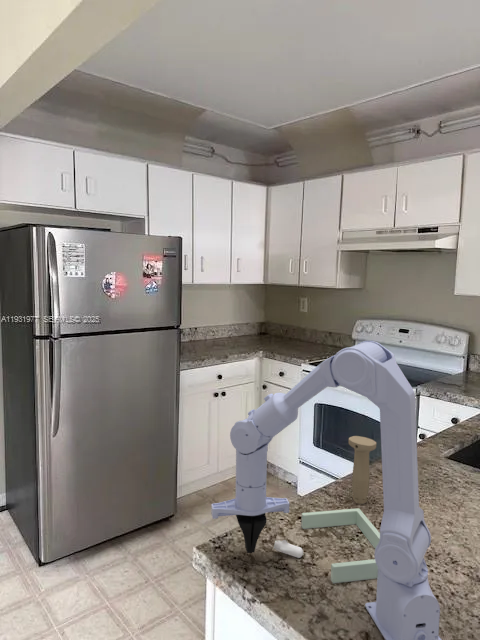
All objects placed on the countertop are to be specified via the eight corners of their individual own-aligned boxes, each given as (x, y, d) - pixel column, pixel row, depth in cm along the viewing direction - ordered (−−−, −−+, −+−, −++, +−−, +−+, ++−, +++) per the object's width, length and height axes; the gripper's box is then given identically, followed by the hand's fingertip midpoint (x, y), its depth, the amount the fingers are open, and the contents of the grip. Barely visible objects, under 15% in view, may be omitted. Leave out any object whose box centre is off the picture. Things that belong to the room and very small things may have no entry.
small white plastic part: (298, 567, 83) (298, 551, 83) (270, 554, 87) (271, 539, 87) (307, 557, 86) (307, 542, 86) (280, 545, 90) (281, 530, 90)
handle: (366, 510, 103) (368, 447, 102) (342, 499, 108) (344, 439, 107) (377, 503, 107) (380, 442, 105) (353, 493, 111) (356, 434, 110)
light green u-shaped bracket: (401, 575, 81) (402, 559, 81) (332, 583, 79) (333, 567, 79) (358, 521, 99) (359, 508, 99) (301, 526, 97) (301, 513, 96)
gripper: (283, 469, 89) (281, 534, 91) (209, 473, 87) (209, 540, 88) (293, 485, 82) (291, 555, 84) (214, 491, 80) (213, 563, 81)
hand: (249, 549), depth 85 cm, fingers closed
